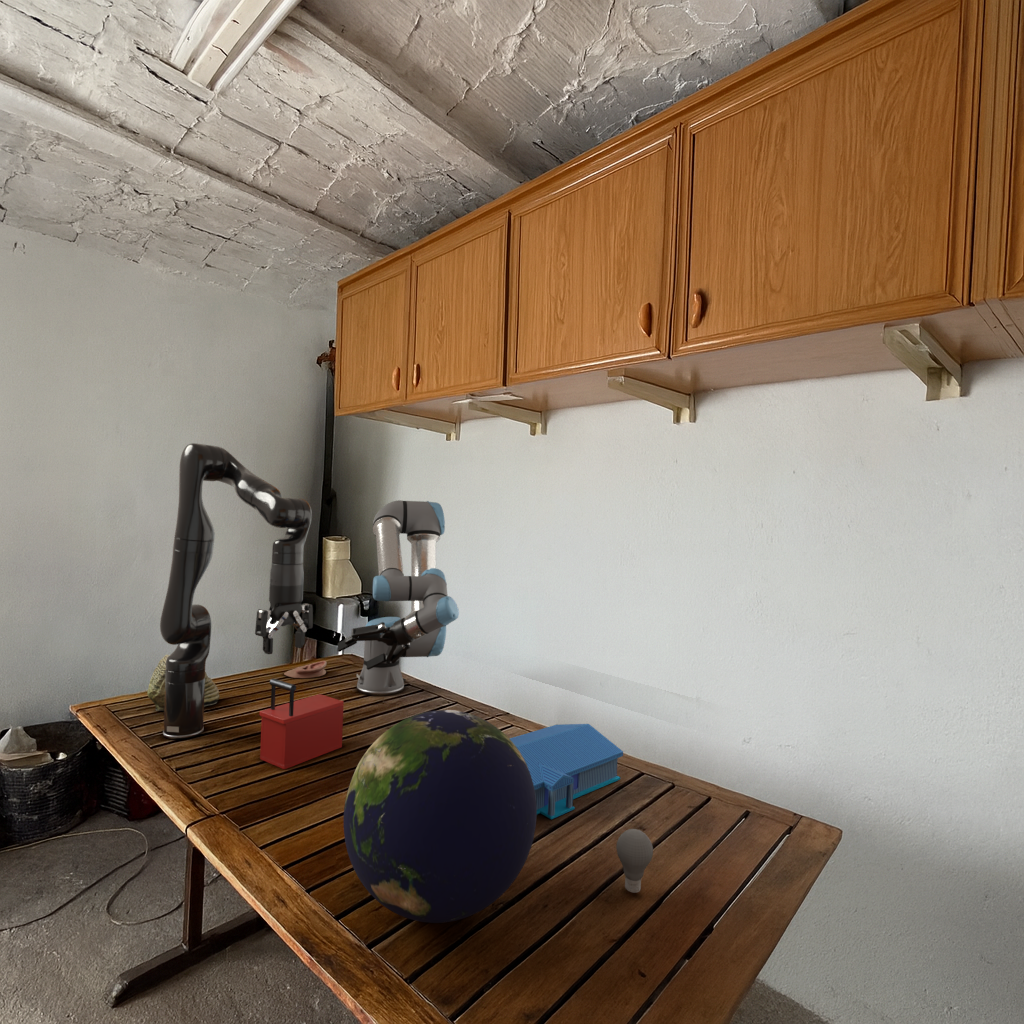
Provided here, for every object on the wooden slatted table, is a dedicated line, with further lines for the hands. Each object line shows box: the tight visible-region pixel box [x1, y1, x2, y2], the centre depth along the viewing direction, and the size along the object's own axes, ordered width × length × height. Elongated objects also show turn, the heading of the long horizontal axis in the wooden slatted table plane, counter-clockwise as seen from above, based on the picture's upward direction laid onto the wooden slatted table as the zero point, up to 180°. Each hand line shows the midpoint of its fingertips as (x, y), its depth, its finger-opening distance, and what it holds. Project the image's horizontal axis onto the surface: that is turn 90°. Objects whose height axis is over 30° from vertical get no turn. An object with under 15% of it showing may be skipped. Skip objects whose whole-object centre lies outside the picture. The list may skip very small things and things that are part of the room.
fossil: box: [147, 654, 221, 712], centre depth 185 cm, size 9×18×15 cm, turn 132°
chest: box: [259, 705, 344, 770], centre depth 156 cm, size 17×9×11 cm, turn 147°
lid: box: [259, 678, 344, 724], centre depth 155 cm, size 18×9×8 cm, turn 146°
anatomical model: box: [283, 660, 327, 679], centre depth 222 cm, size 13×4×12 cm
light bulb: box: [615, 828, 654, 894], centre depth 106 cm, size 6×6×10 cm
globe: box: [343, 709, 538, 924], centre depth 100 cm, size 30×30×30 cm
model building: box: [509, 723, 624, 820], centre depth 142 cm, size 39×24×10 cm, turn 132°
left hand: (284, 650), depth 150 cm, fingers open, 8 cm apart
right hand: (353, 656), depth 193 cm, fingers open, 13 cm apart
